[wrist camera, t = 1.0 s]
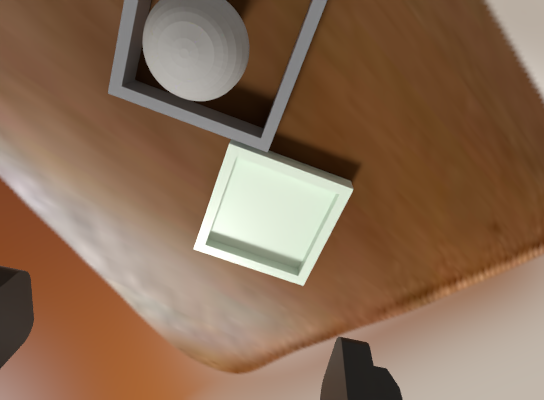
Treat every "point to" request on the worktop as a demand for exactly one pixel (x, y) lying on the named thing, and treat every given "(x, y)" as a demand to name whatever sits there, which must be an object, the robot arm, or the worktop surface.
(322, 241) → the tray
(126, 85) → the case
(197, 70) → the light bulb
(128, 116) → the worktop surface
